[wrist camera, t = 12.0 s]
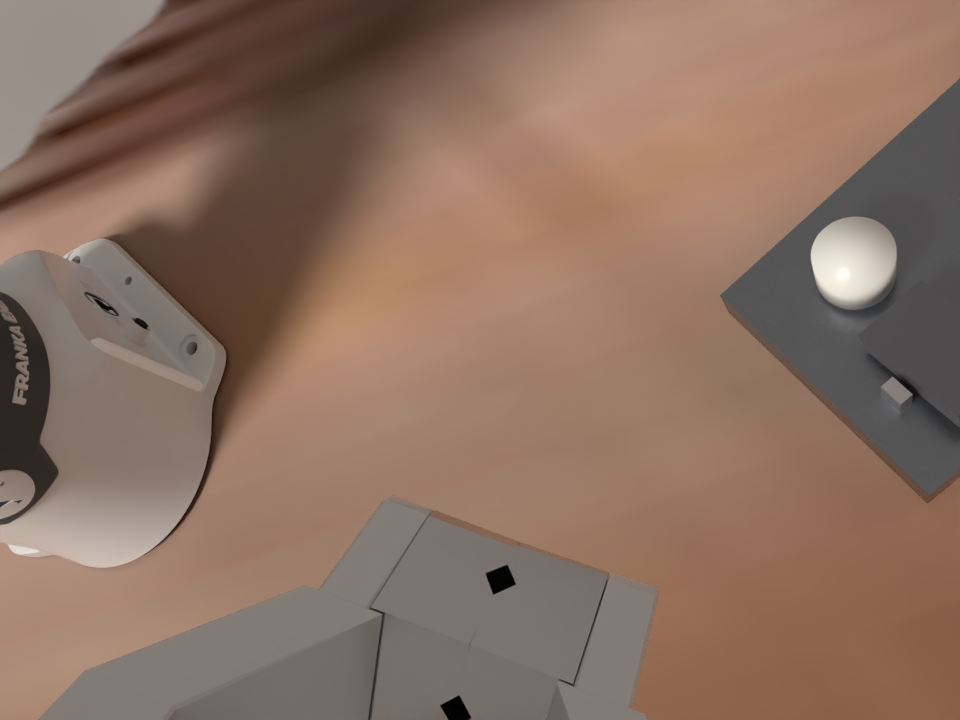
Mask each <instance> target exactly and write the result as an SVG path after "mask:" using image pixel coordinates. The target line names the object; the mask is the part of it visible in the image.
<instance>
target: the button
mask: <svg viewBox="0 0 960 720" xmlns="http://www.w3.org/2000/svg"><path fill="white" fill-rule="evenodd" d="M811 262H812V267H813V272H814V276H815V281H816V285H817V288H818V290H819V292H820V293H821V295H822V296H823V297H824V298H825V299H826V300H827V301H828V302H830V303H831V304H833V305H835V306H837V307H840V308H843V309H849V310H859V309H865V308H868V307H871V306H873V305H875V304H877V303H879V302H880V301H882V300H883V299H884V298H885V297H886V296H887V295H888V294H889V293H890V291H891V290H892V288H893V286H894V284H895V280H896V273H897V249H896V243H895V240H894V238H893V236H892V234H891V233H890V231H889V230H888V229H887V228H886V227H885V226H884V225H882V224H881V223H879V222H877V221H875V220H873V219H870V218H866V217H847V218H842V219H840V220H837V221H835V222H833V223H831V224H829V225H828V226H827V227H825V228H824V229H823V230H822V231H821V232H820V233H819V234H818V236H817V237H816V239H815V241H814V243H813V245H812V249H811Z"/></svg>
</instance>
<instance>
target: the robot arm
mask: <svg viewBox="0 0 960 720" xmlns="http://www.w3.org/2000/svg"><path fill="white" fill-rule="evenodd" d="M196 347H197V350H196V352H195V353H194V351H195V349H196ZM225 364H226V352H225V349H224V347H223V346H222V345H221V344H220V343H219V342H218V341H217V340H216V339H215V338H214V337H213V336H212V335H211V334H210V333H209V332H208V331H207V330H206V329H205V328H204V327H203V326H202V325H201V324H200V323H199V322H198V321H197V320H196V319H195V318H194V317H193V316H192V315H190V314H189V313H188V312H187V311H186V310H185V309H184V308H183V307H182V306H181V305H180V304H179V303H178V302H177V301H176V300H175V299H174V298H173V297H172V296H171V295H170V294H169V293H168V292H167V291H166V290H165V289H164V288H163V287H162V286H161V285H160V284H159V283H158V282H157V281H156V280H154V279H153V278H152V277H151V276H150V275H149V274H148V273H147V272H146V271H145V270H144V269H143V268H142V267H141V266H140V265H139V264H138V263H137V262H136V261H135V260H134V259H133V258H132V257H131V256H130V255H129V254H128V253H127V252H126V251H125V250H124V249H122V248H121V247H120V246H119V245H118V244H117V243H115V242H113V241H110V240H108V239H105V238H100V239H96V240H93V241H90V242H88V243H85V244H83V245H81V246H79V247H77V248H75V249H74V250H72V251H71V252H69V253H67V254H66V255H65V256H63V257H60V256H58V255H55V254H53V253H50V252H46V251H41V250H33V251H28V252H24V253H21V254H18V255H16V256H14V257H12V258H10V259H8V260H6V261H5V262H3V263H2V264H0V542H1V543H5V544H8V546H9V548H10V550H11V551H12V552H14V553H16V554H19V555H24V556H28V557H41V556H48V555H53V554H54V555H57V556H61V557H63V558H66V559H69V560H71V561H74V562H77V563H79V564H82V565H85V566H89V567H99V568H105V567H113V566H118V565H122V564H125V563H128V562H130V561H132V560H135V559H137V558H139V557H140V556H142V555H144V554H145V553H147V552H148V551H150V550H151V549H152V548H154V547H155V546H156V545H157V544H159V543H160V542H161V541H162V540H163V539H164V538H165V537H166V536H167V535H168V534H169V533H170V532H171V531H172V529H173V528H174V527H175V526H176V525H177V523H178V522H179V521H180V519H181V518H182V516H183V515H184V513H185V512H186V510H187V509H188V507H189V505H190V503H191V502H192V500H193V498H194V496H195V494H196V491H197V489H198V487H199V484H200V482H201V479H202V476H203V473H204V470H205V467H206V463H207V459H208V454H209V448H210V441H211V423H212V407H213V400H214V397H215V395H216V392H217V389H218V387H219V384H220V381H221V378H222V375H223V372H224V368H225ZM608 575H609V572H606V571H603V570H600V569H597V568H594V567H591V566H588V565H585V564H583V563H580V562H577V561H574V560H571V559H568V558H565V557H562V556H559V555H556V554H553V553H550V552H547V551H545V550H542V549H539V548H536V547H533V546H530V545H527V544H524V543H520V542H518V541H516V540H513V539H510V538H508V537H505V536H502V535H500V534H497V533H494V532H492V531H489V530H486V529H484V528H481V527H478V526H476V525H473V524H470V523H468V522H465V521H462V520H460V519H457V518H454V517H452V516H449V515H447V514H444V513H441V512H439V511H436V510H435V511H432V510H431V509H428V508H425V507H423V506H420V505H417V504H415V503H412V502H409V501H407V500H404V499H401V498H399V497H396V496H394V495H392V496H391V497H389V498H388V499H386V500H384V501H383V502H382V503H381V504H380V506H379V507H378V508H377V510H376V511H375V513H374V514H373V515H372V517H371V518H370V519H369V521H368V522H367V523H366V525H365V526H364V528H363V529H362V530H361V532H360V533H359V534H358V536H357V537H356V539H355V540H354V541H353V543H352V544H351V545H350V547H349V548H348V550H347V551H346V552H345V554H344V555H343V556H342V558H341V559H340V560H339V562H338V563H337V565H336V566H335V567H334V569H333V570H332V571H331V573H330V574H329V576H328V577H327V578H326V580H325V581H324V582H323V584H322V585H321V587H320V588H319V589H315V588H313V587H310V586H307V585H304V586H302V587H299V588H296V589H294V590H291V591H289V592H286V593H284V594H281V595H278V596H276V597H273V598H271V599H268V600H266V601H263V602H260V603H258V604H255V605H253V606H250V607H248V608H245V609H242V610H240V611H237V612H235V613H232V614H230V615H227V616H224V617H222V618H219V619H217V620H214V621H212V622H209V623H207V624H204V625H201V626H199V627H196V628H194V629H191V630H189V631H186V632H183V633H181V634H178V635H176V636H173V637H171V638H168V639H165V640H163V641H160V642H158V643H155V644H153V645H150V646H147V647H145V648H142V649H140V650H137V651H135V652H132V653H129V654H127V655H124V656H122V657H119V658H117V659H114V660H111V661H109V662H106V663H104V664H101V665H99V666H96V667H93V668H91V669H88V670H86V671H84V672H83V673H82V674H81V675H80V676H79V677H78V678H77V679H76V680H75V682H74V683H73V684H72V685H71V686H70V687H69V688H68V689H67V690H66V691H65V692H64V693H63V694H62V695H61V696H60V697H59V698H58V699H57V700H56V701H55V702H54V703H53V705H52V706H51V707H50V708H49V709H48V710H47V711H46V712H45V713H44V714H43V715H42V716H41V717H40V718H39V719H38V720H648V718H647V716H646V715H645V714H643V713H641V712H638V711H636V710H633V709H631V708H632V704H633V700H634V696H635V691H636V687H637V683H638V679H639V675H640V670H641V666H642V662H643V658H644V653H645V649H646V645H647V641H648V637H649V632H650V628H651V624H652V620H653V616H654V611H655V607H656V603H657V599H658V591H657V587H654V586H651V585H648V584H645V583H642V582H639V581H636V580H633V579H630V578H627V577H624V576H621V575H618V574H615V573H612V572H611V574H610V576H609V578H608ZM607 579H608V581H607ZM606 582H607V584H606ZM605 586H606V587H605ZM604 589H605V590H604ZM603 593H604V594H603ZM602 596H603V597H602ZM601 599H602V600H601ZM598 609H599V610H598Z"/></svg>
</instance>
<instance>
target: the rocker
mask: <svg viewBox="0 0 960 720" xmlns="http://www.w3.org/2000/svg"><path fill="white" fill-rule="evenodd" d="M858 336H859V338H860V340H861V342H862V344H863V347H864V349H865V350H866V351H867V352H869V353H870V354H871V355H872V356H873V357H875V358H876V359H877V360H878V361H879V362H881V363H882V364H883V365H884V366H885V367H887V368H888V369H889V370H890V371H892V372H893V373H894V374H895V375H896V376H898V377H899V378H900V379H901V380H902V381H904V382H905V383H906V384H907V385H909V386H910V387H911V388H912V389H913V390H915V391H916V392H917V393H918V394H919V395H921V396H922V397H923V398H924V399H925V400H927V401H928V402H929V403H930V404H932V405H933V406H934V407H935V408H936V409H938V410H939V411H940V412H941V413H942V414H944V415H945V416H946V417H947V418H949V419H950V420H951V421H952V422H953V423H955V424H956V425H957V426H958V427H959V428H960V308H959V307H958V306H956V305H955V304H953V303H952V302H951V301H949V300H948V299H946V298H945V297H944V296H942V295H941V294H940V293H938V292H937V291H935V290H934V289H933V288H931V287H930V286H928V285H927V284H926V283H924V282H923V281H921V280H920V281H919V282H918V283H917V284H916V285H915V286H914V287H912V288H911V289H910V290H909V291H908V292H907V293H906V294H904V295H903V296H902V297H901V298H900V299H899V300H898V301H896V302H895V303H894V304H893V305H892V306H891V307H890V308H888V309H887V310H886V311H885V312H884V313H883V314H882V315H880V316H879V317H878V318H877V319H876V320H875V321H874V322H872V323H871V324H870V325H869V326H868V327H867V328H866V329H864V330H863V331H862V332H861V333H860V334H859V335H858Z"/></svg>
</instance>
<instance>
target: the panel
mask: <svg viewBox="0 0 960 720" xmlns="http://www.w3.org/2000/svg"><path fill="white" fill-rule="evenodd" d="M847 217H866V218H870V219H873V220H875V221H877V222H879V223H881V224H882V225H884V226H885V227H886V228H887V229H888V230H889V231H890V233H891V234H892V236H893V238H894V240H895V243H896V249H897V273H896V280H895V284H894V286H893V288H892V290H891V291H890V293H889V294H888V295H887V296H886V297H885V298H884V299H883V300H882V301H880V302H879V303H877V304H875V305H873V306H871V307H868V308H865V309H859V310H849V309H843V308H840V307H837V306H835V305H833V304H831V303H830V302H828V301H827V300H826V299H825V298H824V297H823V296H822V295H821V293H820V292H819V290H818V288H817V285H816V281H815V276H814V272H813V267H812V262H811V249H812V245H813V243H814V241H815V239H816V237H817V236H818V234H819V233H820V232H821V231H822V230H823V229H824V228H825V227H827V226H828V225H829V224H831V223H833V222H835V221H837V220H840V219H842V218H847ZM920 280H921V281H923V282H924V283H926V284H927V285H928V286H930V287H931V288H933V289H934V290H935V291H937V292H938V293H940V294H941V295H942V296H944V297H945V298H946V299H948V300H949V301H951V302H952V303H953V304H955V305H956V306H958V307H959V308H960V79H959V80H958V81H957V82H956V83H954V84H953V85H952V86H951V87H950V88H949V89H948V90H947V91H946V92H945V93H943V94H942V95H941V96H940V97H939V98H938V99H937V100H936V101H935V102H933V103H932V104H931V105H930V106H929V107H928V108H927V109H926V110H925V111H924V112H922V113H921V114H920V115H919V116H918V117H917V118H916V119H915V120H914V121H912V122H911V123H910V124H909V125H908V126H907V127H906V128H905V129H904V130H903V131H901V132H900V133H899V134H898V135H897V136H896V137H895V138H894V139H893V140H891V141H890V142H889V143H888V144H887V145H886V146H885V147H884V148H883V149H882V150H880V151H879V152H878V153H877V154H876V155H875V156H874V157H873V158H872V159H870V160H869V161H868V162H867V163H866V164H865V165H864V166H863V167H862V168H861V169H859V170H858V171H857V172H856V173H855V174H854V175H853V176H852V177H851V178H849V179H848V180H847V181H846V182H845V183H844V184H843V185H842V186H841V187H840V188H838V189H837V190H836V191H835V192H834V193H833V194H832V195H831V196H830V197H828V198H827V199H826V200H825V201H824V202H823V203H822V204H821V205H820V206H819V207H817V208H816V209H815V210H814V211H813V212H812V213H811V214H810V215H809V216H807V217H806V218H805V219H804V220H803V221H802V222H801V223H800V224H799V225H798V226H796V227H795V228H794V229H793V230H792V231H791V232H790V233H789V234H788V235H786V236H785V237H784V238H783V239H782V240H781V241H780V242H779V243H778V244H777V245H775V246H774V247H773V248H772V249H771V250H770V251H769V252H768V253H767V254H765V255H764V256H763V257H762V258H761V259H760V260H759V261H758V262H757V263H756V264H754V265H753V266H752V267H751V268H750V269H749V270H748V271H747V272H746V273H744V274H743V275H742V276H741V277H740V278H739V279H738V280H737V281H736V282H735V283H733V284H732V285H731V286H730V287H729V288H728V289H727V290H726V291H725V292H723V293H722V294H721V295H720V296H721V298H722V300H723V302H724V304H725V306H726V308H727V310H728V312H729V313H730V314H731V315H732V316H733V317H734V318H735V319H736V320H737V321H738V322H739V323H740V324H741V325H742V326H743V327H745V328H746V329H747V330H748V331H749V332H750V333H751V334H752V335H753V336H754V337H755V338H756V339H757V340H758V341H759V342H760V343H761V344H762V345H763V346H764V347H765V348H766V349H767V350H768V351H770V352H771V353H772V354H773V355H774V356H775V357H776V358H777V359H778V360H779V361H780V362H781V363H782V364H783V365H784V366H785V367H786V368H787V369H788V370H789V371H790V372H791V373H792V374H793V375H795V376H796V377H797V378H798V379H799V380H800V381H801V382H802V383H803V384H804V385H805V386H806V387H807V388H808V389H809V390H810V391H811V392H812V393H813V394H814V395H815V396H816V397H817V398H818V399H820V400H821V401H822V402H823V403H824V404H825V405H826V406H827V407H828V408H829V409H830V410H831V411H832V412H833V413H834V414H835V415H836V416H837V417H838V418H839V419H840V420H841V421H842V422H843V423H845V424H846V425H847V426H848V427H849V428H850V429H851V430H852V431H853V432H854V433H855V434H856V435H857V436H858V437H859V438H860V439H861V440H862V441H863V442H864V443H865V444H866V445H867V446H868V447H869V448H871V449H872V450H873V451H874V452H875V453H876V454H877V455H878V456H879V457H880V458H881V459H882V460H883V461H884V462H885V463H886V464H887V465H888V466H889V467H890V468H891V469H892V470H893V471H894V472H896V473H897V474H898V475H899V476H900V477H901V478H902V479H903V480H904V481H905V482H906V483H907V484H908V485H909V486H910V487H911V488H912V489H913V490H914V491H915V492H916V493H917V494H918V495H919V496H921V497H922V498H923V499H924V500H925V501H926V502H927V503H929V502H930V501H931V500H932V499H933V498H935V497H936V496H937V495H938V494H939V493H941V492H942V491H943V490H944V489H945V488H946V487H948V486H949V485H950V484H951V483H952V482H954V481H955V480H956V479H957V478H958V477H960V428H959V427H958V426H957V425H956V424H955V423H953V422H952V421H951V420H950V419H949V418H947V417H946V416H945V415H944V414H942V413H941V412H940V411H939V410H938V409H936V408H935V407H934V406H933V405H932V404H930V403H929V402H928V401H927V400H925V399H924V398H923V397H922V396H921V395H919V394H918V393H917V392H916V391H915V390H913V389H912V388H911V387H910V386H909V385H907V384H906V383H905V382H904V381H902V380H901V379H900V378H899V377H898V376H896V375H895V374H894V373H893V372H892V371H890V370H889V369H888V368H887V367H885V366H884V365H883V364H882V363H881V362H879V361H878V360H877V359H876V358H875V357H873V356H872V355H871V354H870V353H869V352H867V351H866V350H865V349H864V347H863V344H862V342H861V340H860V338H859V336H858V335H859V334H860V333H861V332H862V331H863V330H864V329H866V328H867V327H868V326H869V325H870V324H871V323H872V322H874V321H875V320H876V319H877V318H878V317H879V316H880V315H882V314H883V313H884V312H885V311H886V310H887V309H888V308H890V307H891V306H892V305H893V304H894V303H895V302H896V301H898V300H899V299H900V298H901V297H902V296H903V295H904V294H906V293H907V292H908V291H909V290H910V289H911V288H912V287H914V286H915V285H916V284H917V283H918V282H919V281H920Z"/></svg>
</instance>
